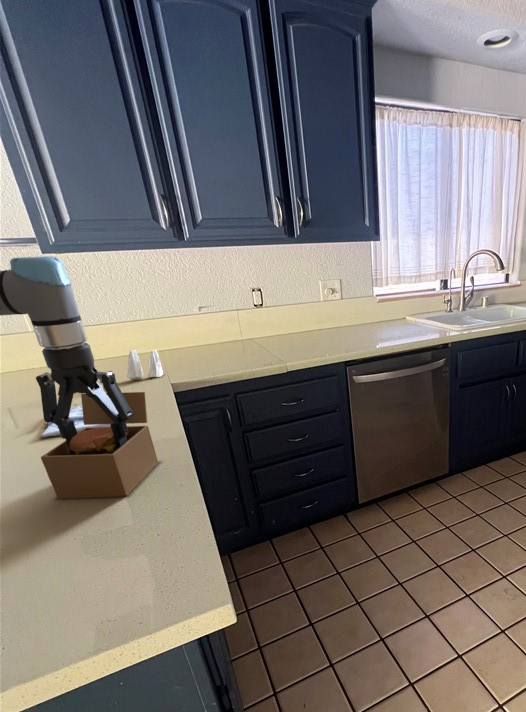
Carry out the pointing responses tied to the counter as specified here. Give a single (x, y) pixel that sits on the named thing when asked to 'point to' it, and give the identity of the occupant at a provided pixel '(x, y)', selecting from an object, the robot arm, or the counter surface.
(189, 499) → the counter surface
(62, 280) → the robot arm
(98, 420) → the flap
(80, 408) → the snack bag
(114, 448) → the burger
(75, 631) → the counter surface
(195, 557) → the counter surface
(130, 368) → the shaker set
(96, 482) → the carton
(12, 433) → the counter surface
